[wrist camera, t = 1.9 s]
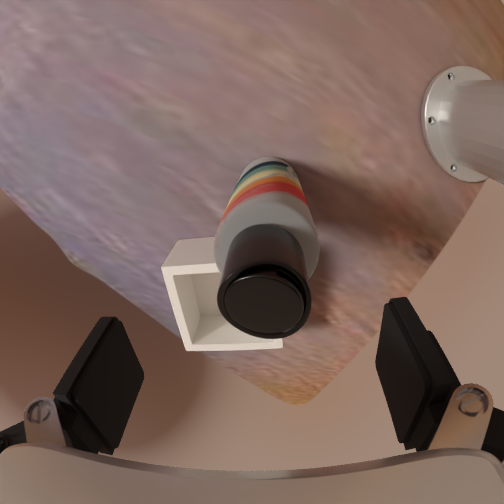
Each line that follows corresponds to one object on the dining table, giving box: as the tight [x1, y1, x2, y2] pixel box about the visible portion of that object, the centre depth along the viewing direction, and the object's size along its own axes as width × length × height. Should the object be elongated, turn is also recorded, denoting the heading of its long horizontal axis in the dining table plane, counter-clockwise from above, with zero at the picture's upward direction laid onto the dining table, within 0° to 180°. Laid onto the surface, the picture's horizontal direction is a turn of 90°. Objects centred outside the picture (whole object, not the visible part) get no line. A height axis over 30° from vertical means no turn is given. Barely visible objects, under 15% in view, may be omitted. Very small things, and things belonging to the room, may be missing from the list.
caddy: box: [161, 237, 283, 351], centre depth 32 cm, size 10×10×6 cm
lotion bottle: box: [214, 157, 320, 339], centre depth 21 cm, size 6×6×20 cm
